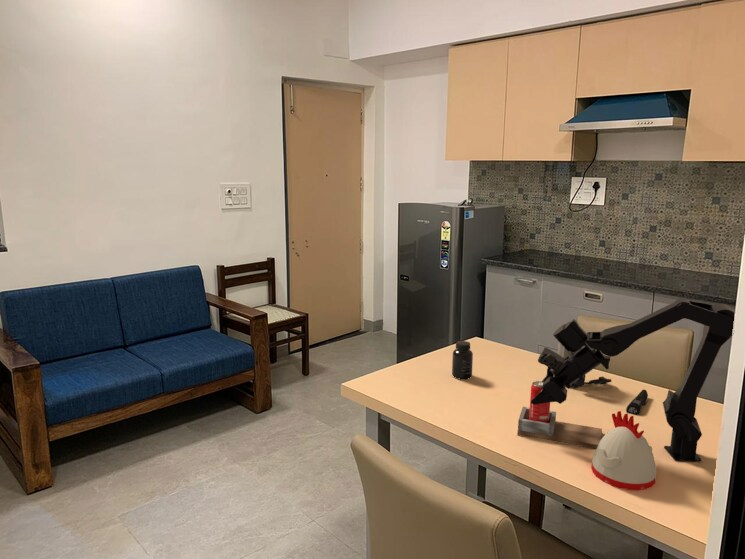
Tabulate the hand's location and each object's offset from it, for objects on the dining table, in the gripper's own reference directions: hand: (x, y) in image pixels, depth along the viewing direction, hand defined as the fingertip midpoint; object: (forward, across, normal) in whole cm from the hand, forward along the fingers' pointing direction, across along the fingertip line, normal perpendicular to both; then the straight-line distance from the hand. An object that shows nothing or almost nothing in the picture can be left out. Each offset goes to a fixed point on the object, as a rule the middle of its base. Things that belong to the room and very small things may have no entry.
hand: (533, 397), depth 154 cm
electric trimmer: (-12, -28, +27) cm, 41 cm away
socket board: (+1, 0, +12) cm, 12 cm away
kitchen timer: (-9, +15, +23) cm, 29 cm away
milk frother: (-1, -39, +15) cm, 42 cm away
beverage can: (+5, 0, +7) cm, 8 cm away
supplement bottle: (+26, -31, -12) cm, 42 cm away
